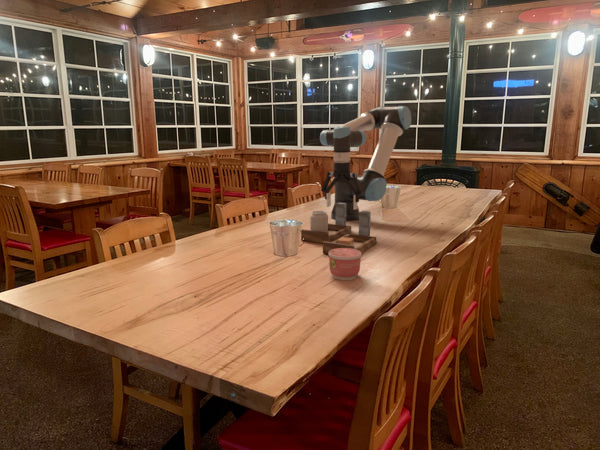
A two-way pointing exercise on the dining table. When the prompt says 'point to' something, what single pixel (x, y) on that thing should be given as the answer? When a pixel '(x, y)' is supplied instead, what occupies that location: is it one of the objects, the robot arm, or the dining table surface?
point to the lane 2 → (355, 236)
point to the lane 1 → (324, 236)
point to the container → (344, 263)
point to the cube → (346, 240)
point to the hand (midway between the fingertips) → (341, 207)
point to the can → (319, 221)
